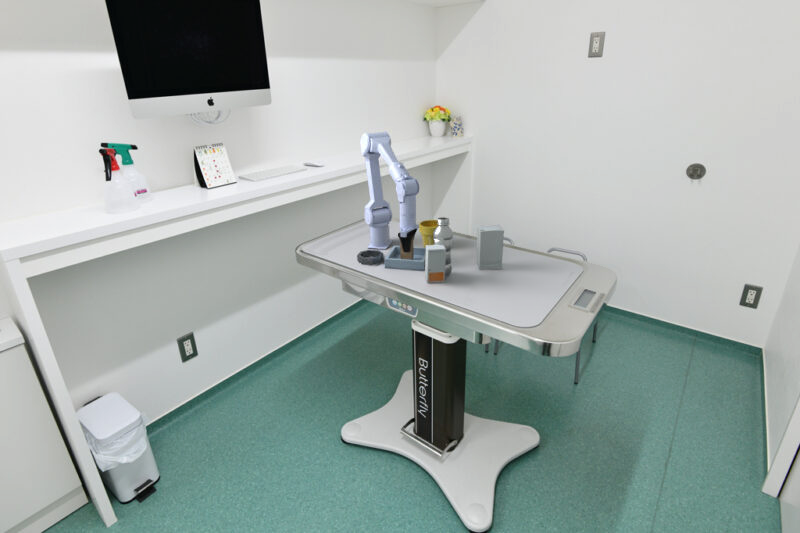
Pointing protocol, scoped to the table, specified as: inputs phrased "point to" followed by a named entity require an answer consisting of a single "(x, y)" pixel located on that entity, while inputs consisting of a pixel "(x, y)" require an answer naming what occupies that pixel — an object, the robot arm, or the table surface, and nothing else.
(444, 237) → the silver metal bottle
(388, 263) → the bin
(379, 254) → the collar
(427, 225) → the plant pot
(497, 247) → the skincare box
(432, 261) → the skincare box
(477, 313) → the table surface
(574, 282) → the table surface
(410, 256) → the peg
